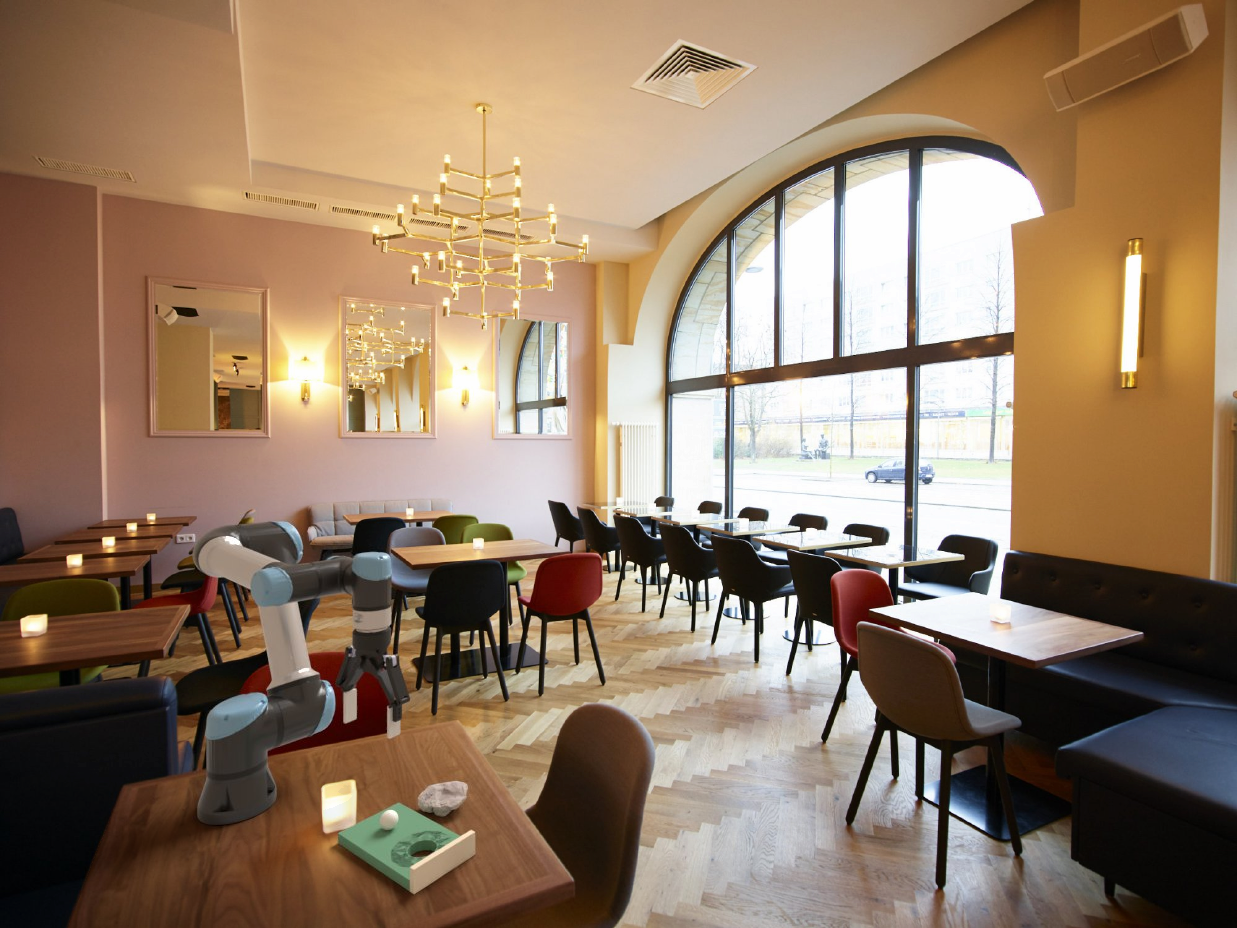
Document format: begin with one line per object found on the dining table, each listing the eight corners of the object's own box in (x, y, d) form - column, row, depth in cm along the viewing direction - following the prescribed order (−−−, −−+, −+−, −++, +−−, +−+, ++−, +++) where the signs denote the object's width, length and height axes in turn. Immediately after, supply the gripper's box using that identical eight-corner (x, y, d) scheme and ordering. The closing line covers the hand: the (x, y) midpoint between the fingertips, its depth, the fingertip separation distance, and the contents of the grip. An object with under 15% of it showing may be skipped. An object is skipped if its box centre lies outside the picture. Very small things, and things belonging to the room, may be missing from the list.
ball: (376, 829, 128) (375, 812, 128) (391, 821, 131) (391, 804, 131) (386, 836, 126) (386, 818, 126) (402, 827, 129) (402, 809, 129)
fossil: (460, 807, 134) (418, 788, 135) (450, 833, 135) (408, 813, 136) (474, 783, 143) (435, 765, 144) (465, 807, 144) (425, 789, 145)
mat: (338, 842, 127) (337, 821, 127) (398, 811, 138) (398, 791, 138) (414, 894, 112) (413, 869, 112) (475, 854, 123) (475, 831, 123)
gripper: (317, 622, 134) (317, 721, 135) (399, 642, 122) (398, 750, 122) (348, 614, 141) (347, 708, 141) (428, 632, 128) (427, 735, 129)
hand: (371, 728), depth 132 cm, fingers open, 13 cm apart
